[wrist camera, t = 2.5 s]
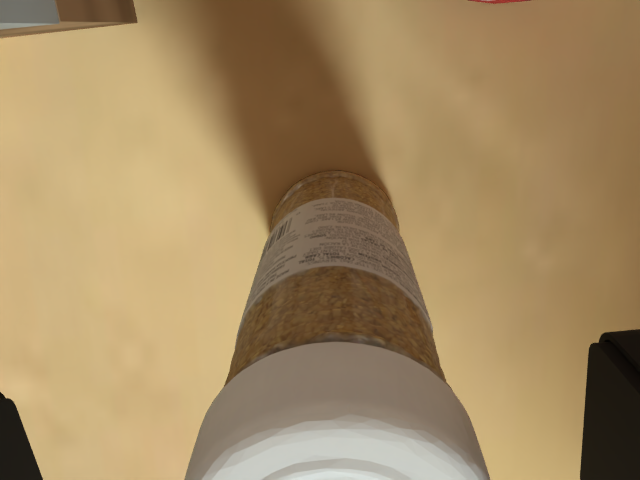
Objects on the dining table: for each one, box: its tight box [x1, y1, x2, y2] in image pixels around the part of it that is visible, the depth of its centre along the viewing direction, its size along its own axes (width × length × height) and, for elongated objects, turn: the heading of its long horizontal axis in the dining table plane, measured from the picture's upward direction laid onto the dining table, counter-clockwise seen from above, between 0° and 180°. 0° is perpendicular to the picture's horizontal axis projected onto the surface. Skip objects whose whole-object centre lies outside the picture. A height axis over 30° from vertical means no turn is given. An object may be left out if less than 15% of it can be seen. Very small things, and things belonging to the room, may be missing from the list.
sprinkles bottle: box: [185, 170, 490, 480], centre depth 14 cm, size 5×5×14 cm
